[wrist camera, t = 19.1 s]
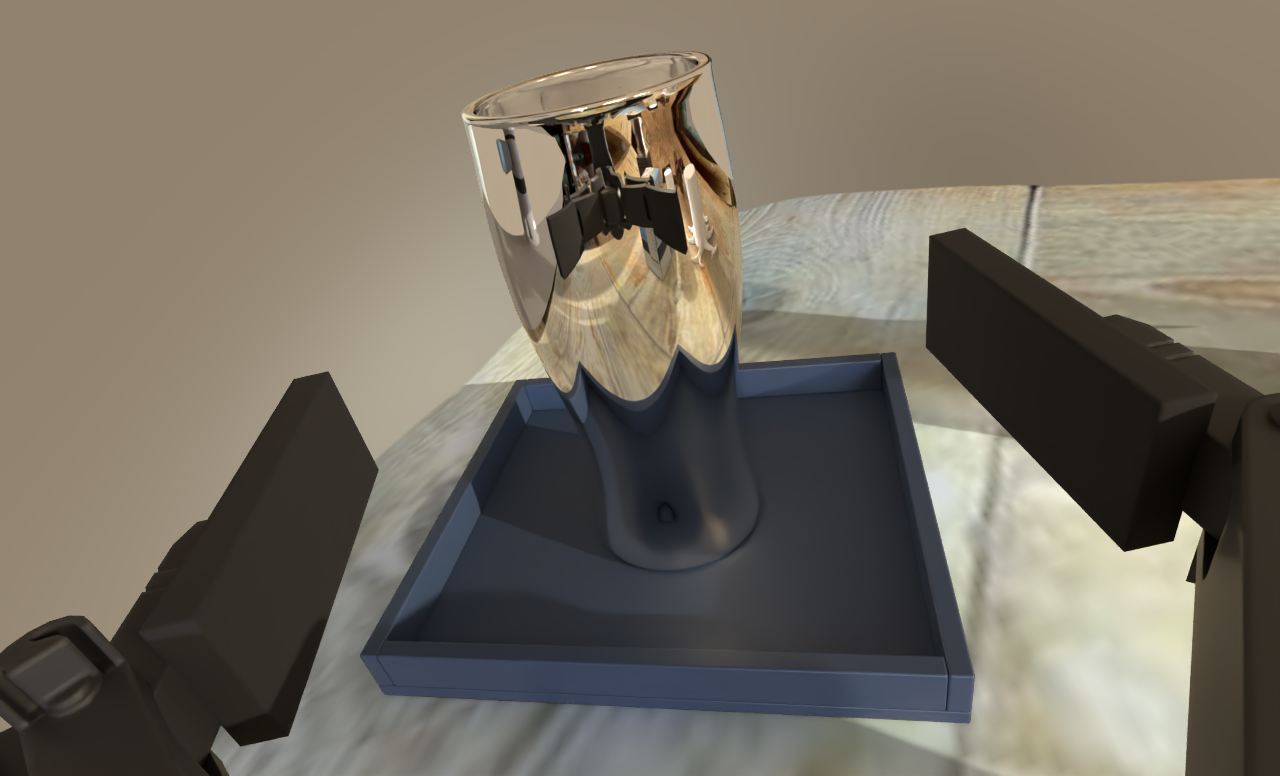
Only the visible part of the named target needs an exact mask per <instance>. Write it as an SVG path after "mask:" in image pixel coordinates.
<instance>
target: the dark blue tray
mask: <svg viewBox="0 0 1280 776" xmlns="http://www.w3.org/2000/svg"><path fill="white" fill-rule="evenodd" d="M736 405H737V419H738V427H739V432H740V437H741V441H742V444H743V447H744V450H745V453H746V456H747V458H748V461H749V463H750V466H751V468H752V471H753V474H754V476H755V479H756V482H757V485H758V489H759V494H760V510H759V515H758V519H757V521H756V524H755V526H754V528H753V529H752V531H751V532H750V534H749V535H748V536H747V538H746V539H745V540H744V541H743V542H742V543H741V544H740V545H739V546H737V547H736V548H735V549H734V550H732V551H731V552H729V553H728V554H726V555H725V556H723V557H721V558H719V559H717V560H715V561H713V562H710V563H708V564H705V565H702V566H699V567H695V568H691V569H685V570H677V571H656V570H649V569H644V568H640V567H637V566H634V565H631V564H629V563H627V562H625V561H623V560H621V559H620V558H618V557H617V556H616V555H614V554H613V553H612V552H611V551H610V550H609V549H608V547H607V546H606V545H605V543H604V541H603V540H602V538H601V536H600V533H599V530H598V525H597V520H596V510H595V493H594V479H593V472H592V466H591V463H590V459H589V455H588V453H587V450H586V448H585V445H584V442H583V440H582V437H581V435H580V434H579V432H578V430H577V428H576V426H575V424H574V422H573V420H572V418H571V416H570V414H569V412H568V411H567V409H566V407H565V405H564V403H563V402H562V400H561V398H560V396H559V394H558V393H557V391H556V389H555V387H554V385H553V383H552V382H551V380H550V378H538V379H528V380H526V379H525V380H516V382H515V383H514V385H513V387H512V389H511V390H510V392H509V394H508V396H507V397H506V399H505V401H504V403H503V404H502V406H501V408H500V410H499V412H498V413H497V415H496V417H495V419H494V420H493V422H492V424H491V426H490V427H489V429H488V431H487V433H486V434H485V436H484V438H483V440H482V441H481V443H480V445H479V447H478V448H477V450H476V452H475V454H474V455H473V457H472V459H471V461H470V463H469V464H468V466H467V468H466V470H465V471H464V473H463V475H462V477H461V478H460V480H459V482H458V484H457V485H456V487H455V489H454V491H453V492H452V494H451V496H450V498H449V499H448V501H447V503H446V505H445V507H444V508H443V510H442V512H441V514H440V515H439V517H438V519H437V521H436V522H435V524H434V526H433V528H432V529H431V531H430V533H429V535H428V536H427V538H426V540H425V542H424V543H423V545H422V547H421V549H420V551H419V552H418V554H417V556H416V558H415V559H414V561H413V563H412V565H411V566H410V568H409V570H408V572H407V573H406V575H405V577H404V579H403V580H402V582H401V584H400V586H399V587H398V589H397V591H396V593H395V595H394V596H393V598H392V600H391V602H390V603H389V605H388V607H387V609H386V610H385V612H384V614H383V616H382V617H381V619H380V621H379V623H378V624H377V626H376V628H375V630H374V631H373V633H372V635H371V637H370V638H369V640H368V642H367V644H366V646H365V647H364V649H363V651H362V653H361V654H360V657H361V659H362V660H363V662H364V663H365V665H366V667H367V668H368V670H369V671H370V673H371V674H372V676H373V677H374V679H375V680H376V682H377V683H378V684H379V687H380V688H381V690H382V692H383V693H384V694H386V695H406V696H427V697H447V698H467V699H488V700H508V701H528V702H548V703H569V704H589V705H609V706H629V707H650V708H670V709H690V710H710V711H731V712H751V713H771V714H791V715H812V716H832V717H852V718H873V719H893V720H913V721H933V722H954V723H970V720H971V709H972V700H973V690H974V681H975V674H974V670H973V666H972V662H971V658H970V654H969V650H968V646H967V642H966V638H965V634H964V630H963V626H962V622H961V618H960V613H959V609H958V605H957V601H956V597H955V593H954V589H953V585H952V581H951V577H950V573H949V569H948V565H947V561H946V556H945V552H944V548H943V544H942V540H941V536H940V532H939V528H938V524H937V520H936V516H935V512H934V508H933V504H932V499H931V495H930V491H929V487H928V483H927V479H926V475H925V471H924V467H923V463H922V459H921V455H920V451H919V447H918V443H917V438H916V434H915V430H914V426H913V422H912V418H911V414H910V410H909V406H908V402H907V398H906V394H905V390H904V386H903V381H902V377H901V373H900V369H899V365H898V361H897V357H896V353H894V352H891V353H881V355H880V354H879V353H878V354H864V355H851V356H837V357H824V358H810V359H796V360H783V361H769V362H756V363H742V364H738V378H737V401H736Z"/></svg>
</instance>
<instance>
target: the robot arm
mask: <svg viewBox="0 0 1280 776" xmlns="http://www.w3.org/2000/svg"><path fill="white" fill-rule="evenodd" d="M926 348H927V349H928V350H929V351H930V352H931V353H932V354H933V355H934V356H935V357H936V358H937V359H938V360H939V361H940V362H941V363H942V364H943V365H944V366H945V367H946V368H947V369H948V371H949V372H950V373H951V374H952V375H953V376H954V377H955V378H956V379H957V380H958V381H959V382H960V383H961V384H962V385H963V386H964V387H965V388H966V389H967V390H968V391H969V392H970V393H971V394H972V395H973V396H974V397H975V398H976V399H977V400H978V402H979V403H980V404H981V405H982V406H983V407H984V408H985V409H986V410H987V411H988V412H989V413H990V414H991V415H992V416H993V417H994V418H995V419H996V420H997V421H998V422H999V423H1000V424H1001V425H1002V426H1003V427H1004V428H1005V429H1006V430H1007V431H1008V432H1009V434H1010V435H1011V436H1012V437H1013V438H1014V439H1015V440H1016V441H1017V442H1018V443H1019V444H1020V445H1021V446H1022V447H1023V448H1024V449H1025V450H1026V451H1027V452H1028V453H1029V454H1030V455H1031V456H1032V457H1033V458H1034V459H1035V460H1036V461H1037V462H1038V463H1039V465H1040V466H1041V467H1042V468H1043V469H1044V470H1045V471H1046V472H1047V473H1048V474H1049V475H1050V476H1051V477H1052V478H1053V479H1054V480H1055V481H1056V482H1057V483H1058V484H1059V485H1060V486H1061V487H1062V488H1063V489H1064V490H1065V491H1066V492H1067V493H1068V494H1069V495H1070V497H1071V498H1072V499H1073V500H1074V501H1075V502H1076V503H1077V504H1078V505H1079V506H1080V507H1081V508H1082V509H1083V510H1084V511H1085V512H1086V513H1087V514H1088V515H1089V516H1090V517H1091V518H1092V519H1093V520H1094V521H1095V522H1096V523H1097V524H1098V525H1099V526H1100V528H1101V529H1102V530H1103V531H1104V532H1105V533H1106V534H1107V535H1108V536H1109V537H1110V538H1111V539H1112V540H1113V541H1114V542H1115V543H1116V544H1117V545H1118V546H1119V547H1120V548H1121V549H1122V550H1123V551H1124V552H1126V551H1130V550H1135V549H1140V548H1144V547H1149V546H1153V545H1158V544H1162V543H1167V542H1171V541H1174V538H1175V534H1176V531H1177V528H1178V524H1179V521H1180V518H1181V515H1182V511H1184V512H1185V513H1186V514H1187V515H1188V516H1190V517H1191V518H1192V519H1193V520H1194V521H1195V522H1196V523H1198V524H1199V525H1200V526H1201V527H1202V528H1203V531H1202V534H1201V537H1200V540H1199V543H1198V546H1197V549H1196V552H1195V555H1194V558H1193V561H1192V564H1191V567H1190V570H1189V573H1188V576H1187V579H1186V581H1187V582H1191V583H1195V602H1194V620H1193V639H1192V658H1191V676H1190V695H1189V714H1188V732H1187V751H1186V770H1185V776H1280V393H1276V394H1269V395H1263V394H1262V393H1260V392H1258V391H1257V390H1255V389H1254V388H1252V387H1250V386H1249V385H1247V384H1245V383H1244V382H1242V381H1240V380H1239V379H1237V378H1236V377H1234V376H1232V375H1231V374H1229V373H1227V372H1226V371H1224V370H1222V369H1221V368H1219V367H1217V366H1216V365H1214V364H1213V363H1211V362H1209V361H1208V360H1206V359H1204V358H1203V357H1201V356H1199V355H1196V356H1195V355H1194V354H1193V351H1191V350H1190V349H1188V348H1186V347H1185V346H1183V345H1181V344H1180V343H1174V340H1173V339H1172V338H1170V337H1168V336H1167V335H1165V334H1163V333H1162V332H1160V331H1158V330H1157V329H1155V328H1154V327H1152V326H1150V325H1148V324H1145V323H1142V322H1139V321H1136V320H1132V319H1129V318H1126V317H1123V316H1120V315H1117V314H1116V315H1112V316H1107V317H1102V316H1100V315H1099V314H1097V313H1096V312H1094V311H1092V310H1091V309H1089V308H1088V307H1086V306H1085V305H1083V304H1082V303H1080V302H1079V301H1077V300H1075V299H1074V298H1072V297H1071V296H1069V295H1068V294H1066V293H1065V292H1063V291H1062V290H1060V289H1058V288H1057V287H1055V286H1054V285H1052V284H1051V283H1049V282H1048V281H1046V280H1045V279H1043V278H1041V277H1040V276H1038V275H1037V274H1035V273H1034V272H1032V271H1031V270H1029V269H1028V268H1026V267H1025V266H1023V265H1021V264H1020V263H1018V262H1017V261H1015V260H1014V259H1012V258H1011V257H1009V256H1008V255H1006V254H1004V253H1003V252H1001V251H1000V250H998V249H997V248H995V247H994V246H992V245H991V244H989V243H987V242H986V241H984V240H983V239H981V238H980V237H978V236H977V235H975V234H974V233H972V232H970V231H969V230H967V229H966V228H962V229H958V230H953V231H949V232H944V233H940V234H935V235H931V236H929V266H928V298H927V329H926ZM378 470H379V469H378V468H377V466H376V464H375V462H374V460H373V458H372V456H371V454H370V452H369V450H368V448H367V446H366V444H365V442H364V440H363V438H362V436H361V434H360V432H359V430H358V428H357V426H356V424H355V422H354V420H353V418H352V417H351V415H350V413H349V411H348V409H347V407H346V405H345V403H344V401H343V399H342V397H341V395H340V393H339V391H338V389H337V387H336V385H335V383H334V381H333V379H332V377H331V375H330V373H329V372H324V373H319V374H315V375H310V376H306V377H301V378H297V379H294V380H293V381H292V383H291V385H290V386H289V388H288V389H287V391H286V393H285V394H284V396H283V398H282V399H281V401H280V402H279V404H278V406H277V407H276V409H275V411H274V412H273V414H272V415H271V417H270V419H269V420H268V422H267V424H266V425H265V427H264V429H263V430H262V432H261V433H260V435H259V437H258V438H257V440H256V441H255V443H254V445H253V446H252V448H251V450H250V451H249V453H248V455H247V456H246V458H245V460H244V461H243V463H242V464H241V466H240V468H239V469H238V471H237V472H236V474H235V476H234V477H233V479H232V481H231V482H230V484H229V486H228V487H227V489H226V491H225V492H224V494H223V496H222V497H221V499H220V500H219V502H218V503H217V505H216V507H215V508H214V510H213V512H212V513H211V515H210V517H209V518H208V520H204V521H200V522H197V523H196V524H195V525H194V526H192V527H191V529H189V530H188V531H187V532H186V533H185V534H184V535H183V536H182V537H181V538H180V539H179V540H178V541H177V542H176V543H174V544H173V546H172V547H171V549H170V550H169V552H168V553H167V555H166V556H165V558H164V559H163V561H162V563H161V564H160V566H159V567H158V572H157V573H155V574H154V575H153V576H152V578H151V580H150V581H149V583H148V584H147V586H146V587H145V588H146V592H142V593H141V595H140V597H139V598H138V600H137V601H136V603H135V604H134V606H133V608H132V609H131V610H130V612H129V614H128V615H127V617H126V618H125V620H124V621H123V623H122V624H121V626H120V628H119V629H118V631H117V632H116V634H115V635H114V637H113V638H112V640H111V641H110V642H109V641H108V640H107V639H106V638H105V637H104V635H103V634H102V633H101V632H100V631H99V630H98V629H97V628H96V627H95V626H94V625H93V624H92V623H91V622H90V621H89V620H88V619H86V618H85V617H84V616H66V617H63V618H59V619H56V620H53V621H49V622H47V623H46V624H44V625H42V626H40V627H38V628H36V629H34V630H32V631H30V632H28V633H26V634H25V635H24V636H22V637H21V638H19V639H18V640H16V641H15V642H14V643H12V644H11V645H9V646H8V647H7V648H6V649H4V651H2V652H1V653H0V716H1V717H2V718H3V719H4V720H5V721H6V722H8V723H9V724H10V725H11V726H12V727H11V728H9V729H7V730H5V731H3V732H0V776H229V774H228V772H227V770H226V768H225V767H224V765H223V763H222V761H221V760H220V759H219V758H218V757H217V756H216V755H215V754H214V753H213V751H212V750H211V747H212V744H213V742H214V740H215V737H216V735H217V733H218V730H219V728H220V726H221V725H222V727H223V728H224V729H225V730H226V731H227V732H228V733H229V734H230V735H231V737H232V738H233V739H234V740H235V741H236V742H237V743H238V744H239V746H240V747H241V746H245V745H250V744H254V743H259V742H264V741H268V740H273V739H277V738H282V737H286V736H289V733H290V730H291V727H292V724H293V721H294V719H295V716H296V713H297V710H298V707H299V704H300V701H301V698H302V695H303V692H304V689H305V686H306V683H307V680H308V677H309V674H310V671H311V668H312V665H313V662H314V659H315V656H316V653H317V651H318V648H319V645H320V642H321V639H322V636H323V633H324V630H325V627H326V624H327V621H328V618H329V615H330V612H331V609H332V606H333V603H334V600H335V597H336V594H337V591H338V588H339V585H340V583H341V580H342V577H343V574H344V571H345V568H346V565H347V562H348V559H349V556H350V553H351V550H352V547H353V544H354V541H355V538H356V535H357V532H358V529H359V526H360V523H361V520H362V517H363V515H364V512H365V509H366V506H367V503H368V500H369V497H370V494H371V491H372V488H373V485H374V482H375V479H376V476H377V473H378Z"/></svg>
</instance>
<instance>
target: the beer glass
mask: <svg viewBox="0 0 1280 776" xmlns="http://www.w3.org/2000/svg"><path fill="white" fill-rule="evenodd" d="M461 117H462V120H463V122H464V125H465V128H466V132H467V135H468V140H469V144H470V148H471V152H472V156H473V160H474V165H475V170H476V175H477V179H478V184H479V188H480V192H481V196H482V200H483V204H484V208H485V212H486V217H487V221H488V225H489V229H490V232H491V235H492V239H493V243H494V246H495V249H496V253H497V256H498V260H499V263H500V267H501V270H502V272H503V275H504V278H505V281H506V284H507V286H508V289H509V292H510V295H511V297H512V300H513V303H514V306H515V309H516V311H517V313H518V315H519V318H520V320H521V322H522V324H523V326H524V328H525V330H526V333H527V335H528V337H529V339H530V341H531V343H532V345H533V348H534V350H535V352H536V353H537V355H538V357H539V359H540V361H541V363H542V365H543V367H544V368H545V370H546V372H547V374H548V376H549V378H550V380H551V382H552V383H553V385H554V387H555V389H556V391H557V393H558V394H559V396H560V398H561V400H562V402H563V403H564V405H565V407H566V409H567V411H568V412H569V414H570V416H571V418H572V420H573V422H574V424H575V426H576V428H577V430H578V432H579V434H580V435H581V437H582V440H583V442H584V445H585V448H586V450H587V453H588V455H589V459H590V463H591V466H592V472H593V479H594V493H595V510H596V520H597V525H598V530H599V533H600V536H601V538H602V540H603V541H604V543H605V545H606V546H607V547H608V549H609V550H610V551H611V552H612V553H613V554H614V555H616V556H617V557H618V558H620V559H621V560H623V561H625V562H627V563H629V564H631V565H634V566H637V567H640V568H644V569H649V570H656V571H677V570H685V569H691V568H695V567H699V566H702V565H705V564H708V563H710V562H713V561H715V560H717V559H719V558H721V557H723V556H725V555H726V554H728V553H729V552H731V551H732V550H734V549H735V548H736V547H737V546H739V545H740V544H741V543H742V542H743V541H744V540H745V539H746V538H747V536H748V535H749V534H750V532H751V531H752V529H753V528H754V526H755V524H756V521H757V519H758V515H759V510H760V494H759V489H758V485H757V482H756V479H755V476H754V474H753V471H752V468H751V466H750V463H749V461H748V458H747V456H746V453H745V450H744V447H743V444H742V441H741V437H740V432H739V427H738V419H737V405H736V401H737V378H738V364H739V350H740V335H741V318H742V281H743V258H742V247H741V235H740V223H739V213H738V206H737V199H736V193H735V186H734V180H733V173H732V168H731V163H730V158H729V153H728V148H727V143H726V137H725V132H724V128H723V123H722V118H721V113H720V109H719V104H718V100H717V95H716V89H715V84H714V79H713V73H712V60H711V58H710V57H709V56H708V55H707V54H704V53H700V52H692V51H691V52H690V51H676V52H663V53H652V54H644V55H637V56H630V57H624V58H618V59H612V60H607V61H602V62H597V63H593V64H588V65H583V66H579V67H574V68H570V69H566V70H562V71H558V72H554V73H551V74H548V75H543V76H540V77H536V78H533V79H530V80H527V81H523V82H520V83H517V84H514V85H511V86H509V87H506V88H503V89H500V90H498V91H495V92H493V93H490V94H488V95H486V96H484V97H481V98H479V99H477V100H475V101H474V102H472V103H470V104H469V105H468V106H466V107H465V108H464V109H463V111H462V113H461Z"/></svg>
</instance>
